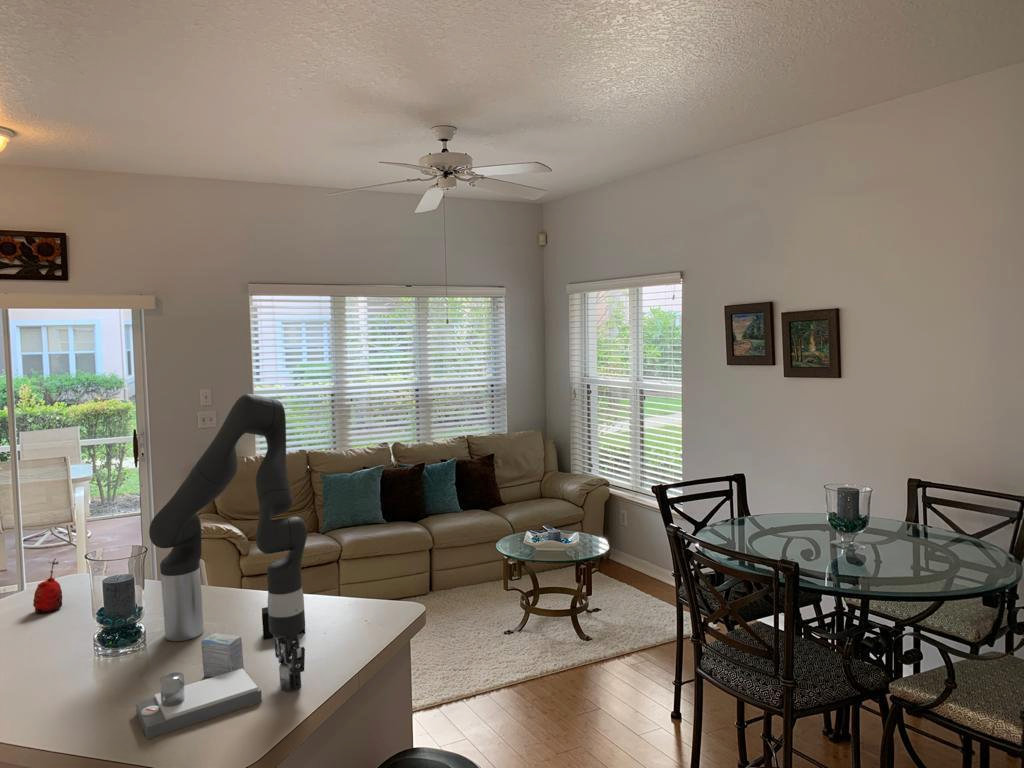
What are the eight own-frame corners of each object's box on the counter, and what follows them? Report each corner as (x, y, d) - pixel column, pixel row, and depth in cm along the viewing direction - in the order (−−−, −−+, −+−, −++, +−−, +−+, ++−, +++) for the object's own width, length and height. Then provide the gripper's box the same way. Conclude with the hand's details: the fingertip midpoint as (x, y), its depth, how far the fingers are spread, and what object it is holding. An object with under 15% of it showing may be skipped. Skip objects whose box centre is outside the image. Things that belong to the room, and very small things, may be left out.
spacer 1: (160, 699, 149) (158, 676, 149) (183, 693, 152) (181, 670, 151) (163, 708, 145) (161, 685, 145) (186, 702, 148) (185, 679, 147)
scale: (136, 713, 150) (135, 699, 150) (245, 680, 163) (244, 666, 163) (147, 739, 140) (146, 723, 140) (261, 701, 153) (260, 687, 153)
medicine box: (244, 672, 167) (242, 635, 166) (231, 681, 163) (228, 644, 162) (217, 668, 169) (214, 632, 169) (203, 677, 165) (200, 640, 165)
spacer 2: (277, 686, 160) (276, 664, 159) (297, 680, 162) (296, 658, 162) (284, 694, 156) (283, 672, 156) (304, 687, 159) (303, 665, 158)
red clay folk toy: (43, 605, 213) (39, 555, 212) (68, 603, 214) (64, 554, 212) (29, 616, 205) (24, 564, 204) (55, 614, 206) (51, 562, 205)
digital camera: (304, 625, 193) (303, 599, 192) (305, 633, 187) (304, 607, 187) (263, 631, 189) (261, 605, 189) (263, 640, 184) (261, 613, 184)
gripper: (315, 614, 154) (319, 691, 155) (291, 595, 166) (296, 666, 167) (280, 623, 150) (285, 702, 151) (258, 603, 161) (263, 677, 163)
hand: (290, 683), depth 159 cm, fingers open, 5 cm apart
